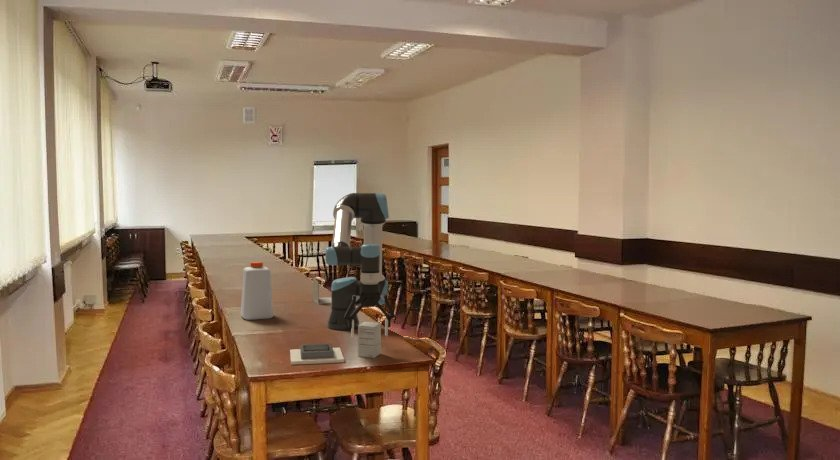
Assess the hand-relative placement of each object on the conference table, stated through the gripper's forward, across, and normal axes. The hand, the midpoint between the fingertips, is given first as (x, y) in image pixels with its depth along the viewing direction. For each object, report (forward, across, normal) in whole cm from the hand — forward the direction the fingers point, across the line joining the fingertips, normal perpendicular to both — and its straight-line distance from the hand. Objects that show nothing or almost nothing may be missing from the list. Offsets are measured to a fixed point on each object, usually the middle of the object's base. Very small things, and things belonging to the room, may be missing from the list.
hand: (369, 335), depth 259 cm
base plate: (+8, -21, 0) cm, 22 cm away
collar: (+7, -21, 0) cm, 22 cm away
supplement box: (+8, 0, 0) cm, 8 cm away
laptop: (+7, -8, +122) cm, 123 cm away
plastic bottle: (+7, -46, +82) cm, 95 cm away
